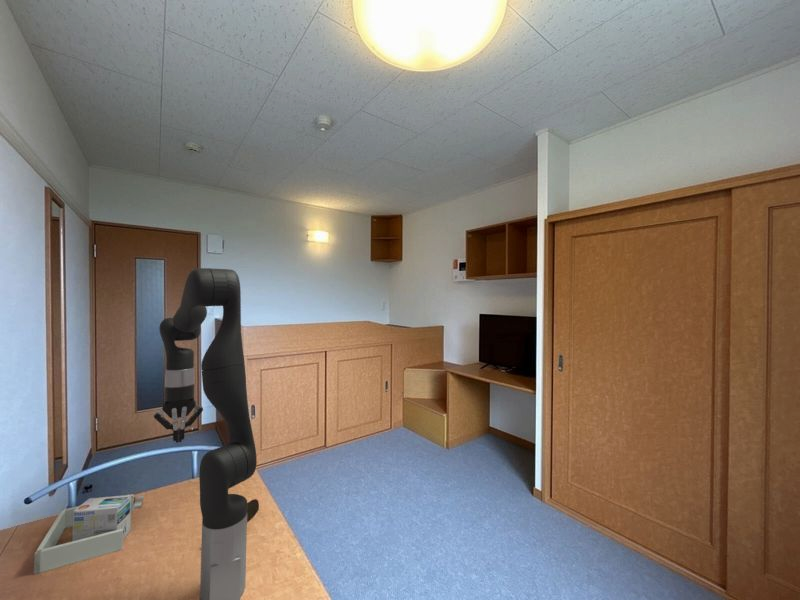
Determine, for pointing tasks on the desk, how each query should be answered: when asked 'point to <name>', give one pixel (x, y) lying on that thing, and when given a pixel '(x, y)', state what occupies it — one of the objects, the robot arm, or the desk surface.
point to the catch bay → (74, 544)
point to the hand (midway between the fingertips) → (178, 441)
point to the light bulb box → (102, 516)
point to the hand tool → (252, 509)
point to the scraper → (138, 502)
